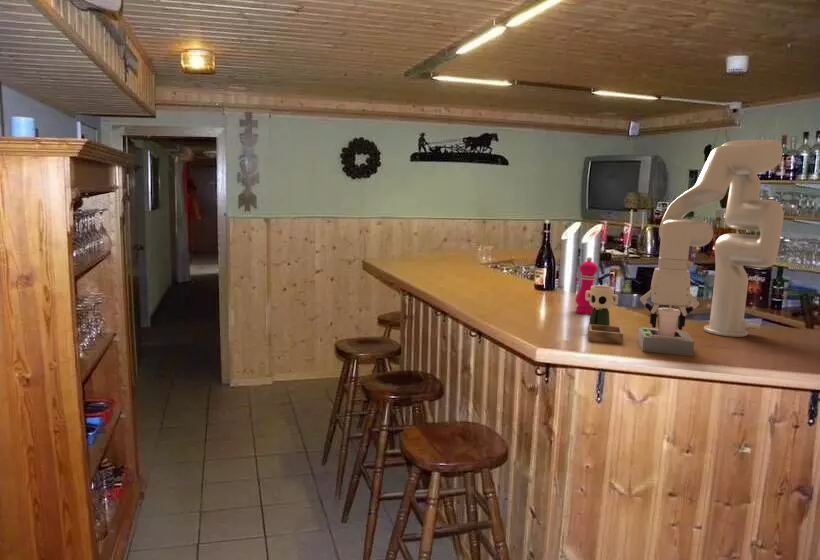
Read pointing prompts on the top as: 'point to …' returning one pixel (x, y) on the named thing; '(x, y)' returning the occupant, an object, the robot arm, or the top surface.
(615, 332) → the wooden tray
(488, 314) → the top surface
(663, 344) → the box
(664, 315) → the smoothie
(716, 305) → the robot arm
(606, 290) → the character mug
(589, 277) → the pepper mill
